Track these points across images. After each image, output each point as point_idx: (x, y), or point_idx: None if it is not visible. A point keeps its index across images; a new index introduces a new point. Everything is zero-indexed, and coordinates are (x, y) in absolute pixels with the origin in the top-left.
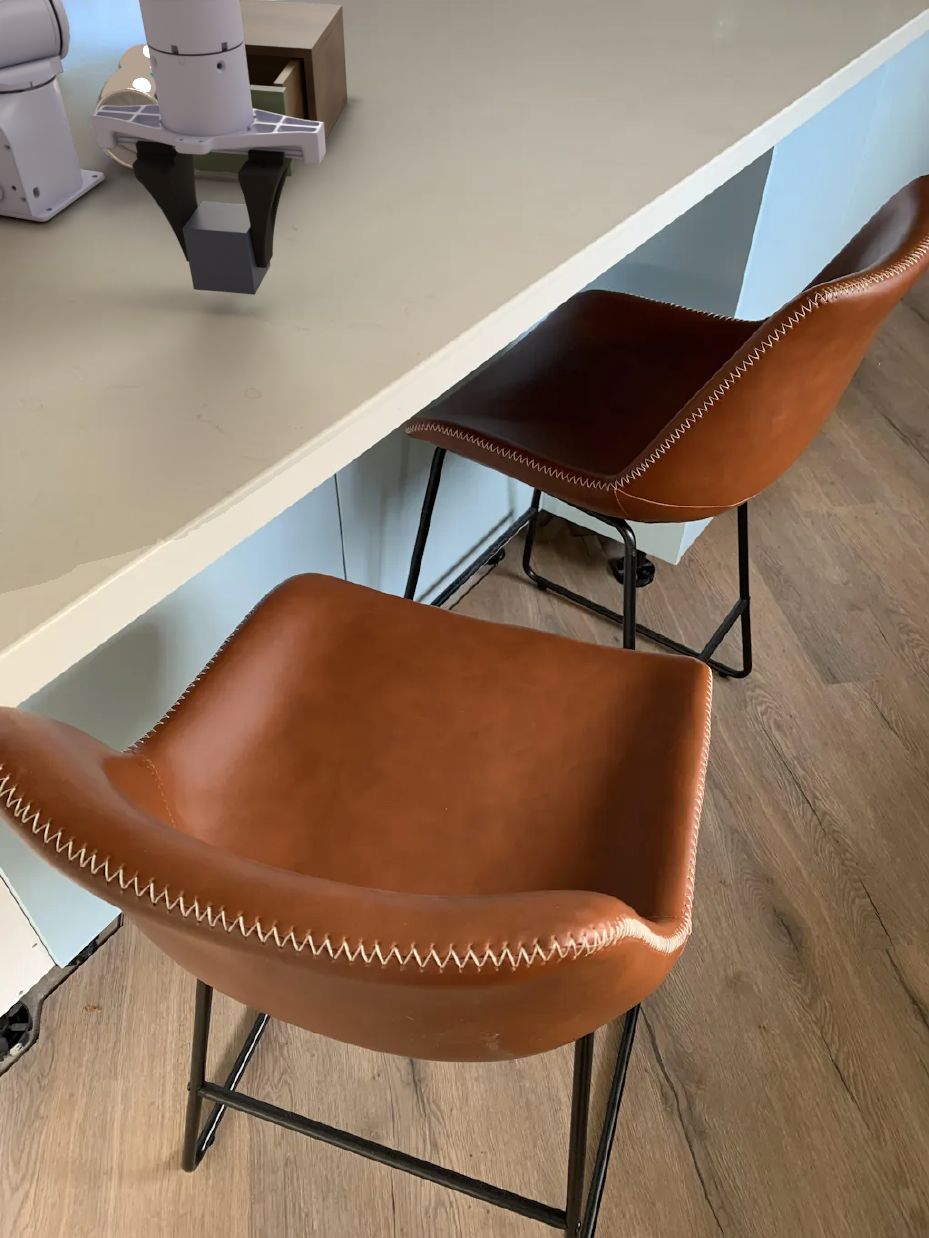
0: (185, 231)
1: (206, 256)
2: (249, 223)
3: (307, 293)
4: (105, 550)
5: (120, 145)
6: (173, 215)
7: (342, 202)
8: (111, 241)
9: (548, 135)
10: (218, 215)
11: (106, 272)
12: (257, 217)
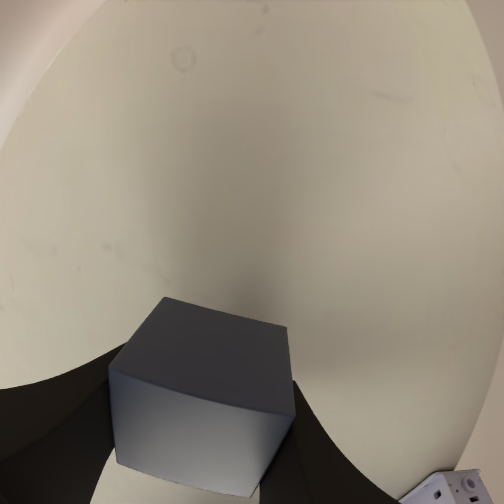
0: (288, 409)
1: (243, 359)
2: (116, 410)
3: None
4: None
5: None
6: (317, 450)
7: (135, 492)
8: (383, 462)
9: None
10: (202, 456)
11: (403, 412)
12: (63, 391)
